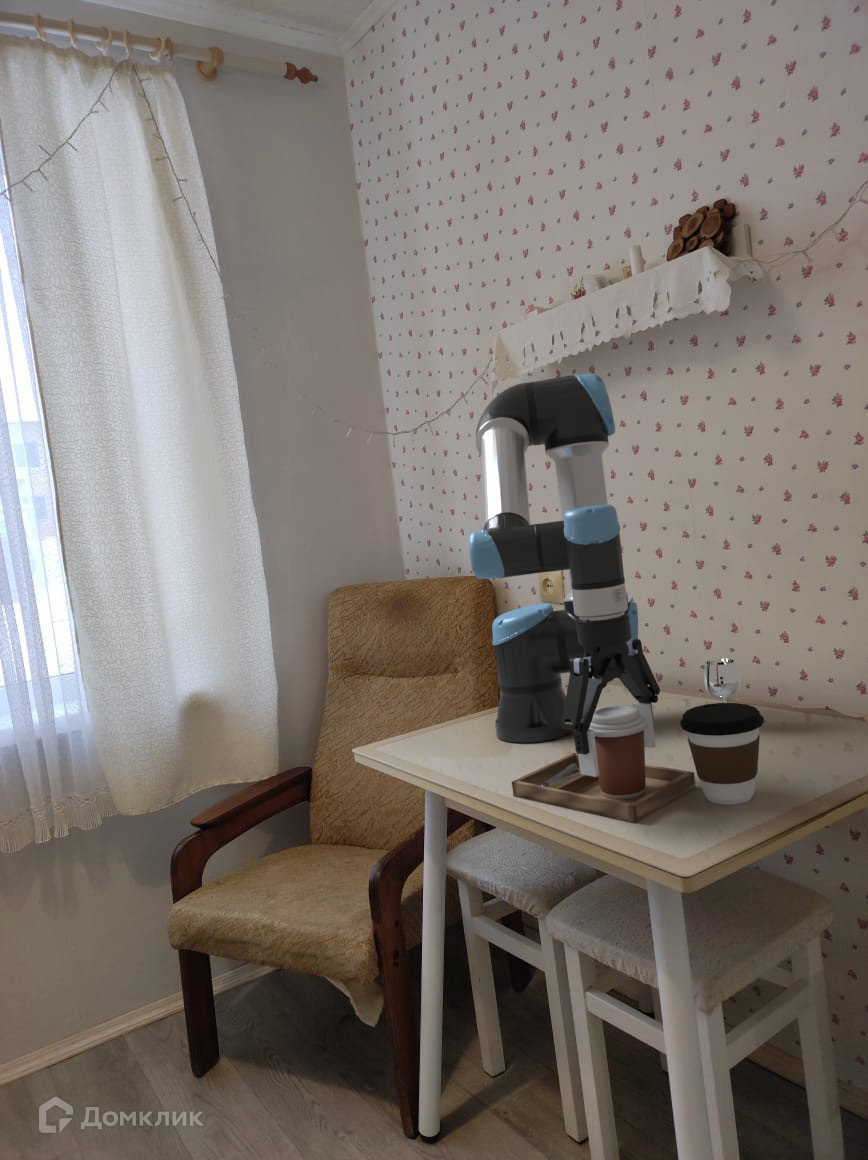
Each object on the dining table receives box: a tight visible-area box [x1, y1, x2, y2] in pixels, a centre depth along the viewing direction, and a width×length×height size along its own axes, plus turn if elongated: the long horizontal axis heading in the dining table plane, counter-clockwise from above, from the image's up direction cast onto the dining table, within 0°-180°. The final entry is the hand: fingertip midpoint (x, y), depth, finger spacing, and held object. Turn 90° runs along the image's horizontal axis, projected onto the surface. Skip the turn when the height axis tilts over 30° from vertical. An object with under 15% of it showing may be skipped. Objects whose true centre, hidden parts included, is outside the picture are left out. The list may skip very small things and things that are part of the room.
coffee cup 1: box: [589, 704, 648, 800], centre depth 129 cm, size 9×9×12 cm
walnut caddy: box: [511, 752, 696, 824], centre depth 132 cm, size 22×15×2 cm
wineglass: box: [703, 658, 741, 703], centre depth 152 cm, size 6×6×12 cm
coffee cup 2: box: [679, 702, 765, 806], centre depth 123 cm, size 11×11×12 cm
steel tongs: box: [539, 764, 581, 788], centre depth 136 cm, size 11×5×1 cm, turn 132°
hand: (619, 760), depth 128 cm, fingers open, 13 cm apart
